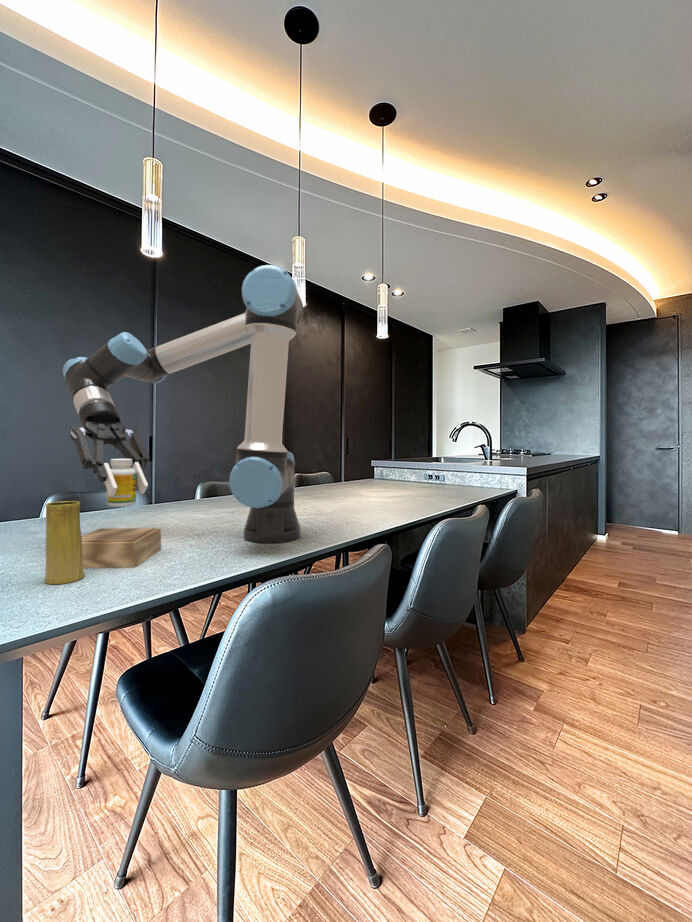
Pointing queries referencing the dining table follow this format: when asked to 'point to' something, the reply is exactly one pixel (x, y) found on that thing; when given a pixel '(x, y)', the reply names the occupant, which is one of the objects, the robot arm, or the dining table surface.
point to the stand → (119, 547)
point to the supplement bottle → (123, 483)
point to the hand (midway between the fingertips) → (129, 490)
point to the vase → (63, 543)
